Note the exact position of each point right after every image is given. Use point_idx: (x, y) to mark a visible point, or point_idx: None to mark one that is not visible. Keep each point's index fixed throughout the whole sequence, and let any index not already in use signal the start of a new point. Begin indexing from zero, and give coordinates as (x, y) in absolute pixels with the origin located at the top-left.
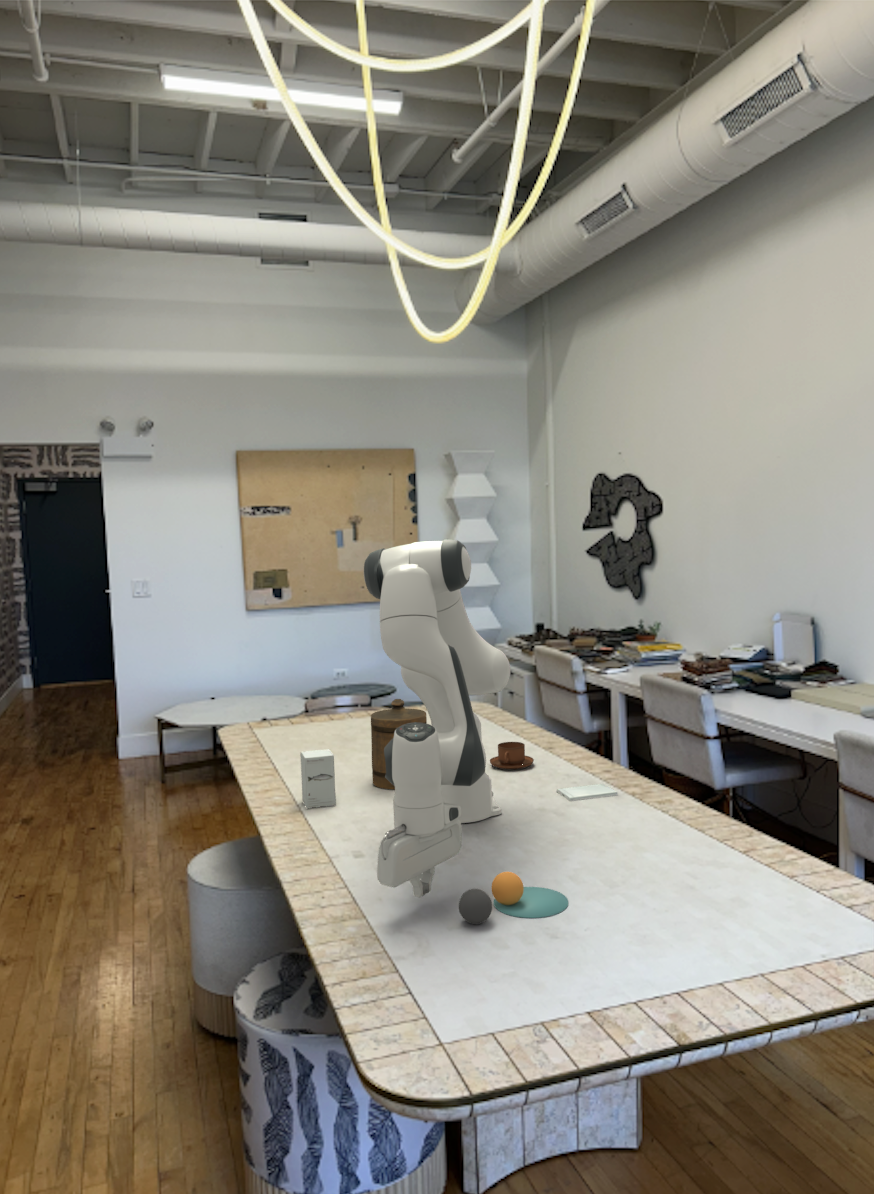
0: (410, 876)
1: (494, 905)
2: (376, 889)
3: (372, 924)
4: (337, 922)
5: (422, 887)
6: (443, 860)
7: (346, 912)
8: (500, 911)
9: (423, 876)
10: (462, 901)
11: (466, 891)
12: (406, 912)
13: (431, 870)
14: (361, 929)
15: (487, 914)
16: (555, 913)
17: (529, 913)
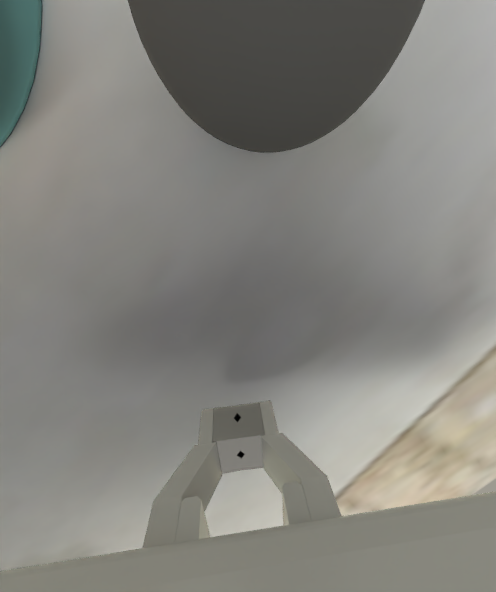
0: (487, 523)
1: (18, 111)
2: (243, 516)
3: (444, 388)
4: (460, 450)
5: (266, 433)
6: (40, 579)
7: (399, 473)
8: (39, 16)
9: (207, 496)
10: (417, 10)
11: (336, 5)
12: (326, 376)
13: (184, 517)
14: (484, 387)
15: None
16: None
17: None
